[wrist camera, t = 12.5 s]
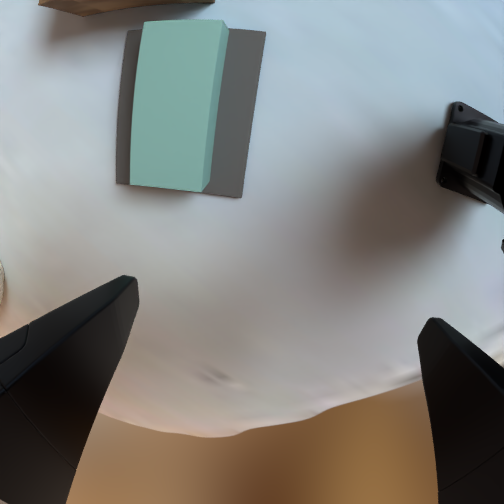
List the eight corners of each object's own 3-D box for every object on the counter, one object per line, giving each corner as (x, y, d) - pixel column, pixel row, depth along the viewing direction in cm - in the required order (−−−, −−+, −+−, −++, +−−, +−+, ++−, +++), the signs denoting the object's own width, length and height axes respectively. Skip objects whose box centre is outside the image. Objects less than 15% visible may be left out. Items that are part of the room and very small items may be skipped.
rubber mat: (266, 33, 14) (265, 32, 14) (241, 196, 20) (241, 198, 19) (130, 31, 14) (128, 30, 14) (118, 181, 19) (116, 183, 19)
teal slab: (229, 30, 14) (222, 20, 12) (209, 181, 19) (201, 192, 17) (159, 30, 14) (144, 21, 12) (145, 174, 19) (130, 184, 17)
